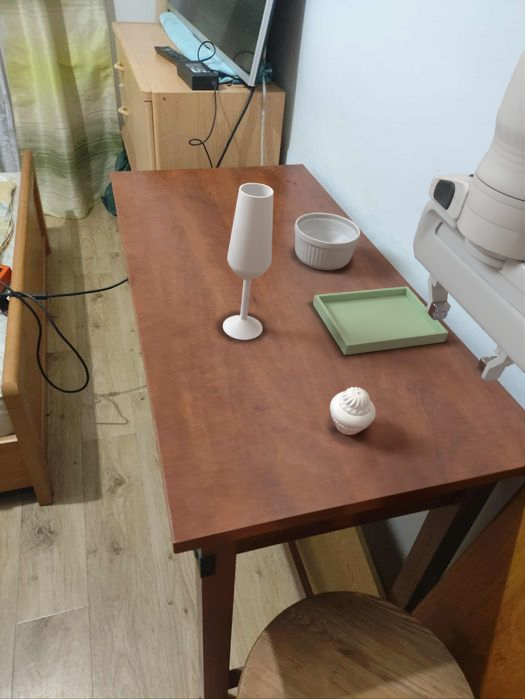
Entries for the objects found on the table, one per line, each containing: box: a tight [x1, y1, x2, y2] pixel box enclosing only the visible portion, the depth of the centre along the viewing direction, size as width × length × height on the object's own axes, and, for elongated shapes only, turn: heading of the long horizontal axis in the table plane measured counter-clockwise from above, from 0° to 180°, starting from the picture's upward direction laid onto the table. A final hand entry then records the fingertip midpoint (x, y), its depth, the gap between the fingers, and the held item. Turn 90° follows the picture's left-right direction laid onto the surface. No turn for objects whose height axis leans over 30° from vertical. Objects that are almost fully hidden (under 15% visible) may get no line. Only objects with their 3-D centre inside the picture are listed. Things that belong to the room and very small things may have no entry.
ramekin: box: [293, 212, 361, 271], centre depth 104 cm, size 13×13×7 cm
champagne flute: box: [222, 182, 274, 341], centre depth 78 cm, size 7×7×24 cm
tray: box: [312, 285, 449, 356], centre depth 90 cm, size 19×14×2 cm
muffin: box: [329, 386, 376, 436], centre depth 69 cm, size 6×6×7 cm
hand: (458, 343), depth 51 cm, fingers open, 8 cm apart
